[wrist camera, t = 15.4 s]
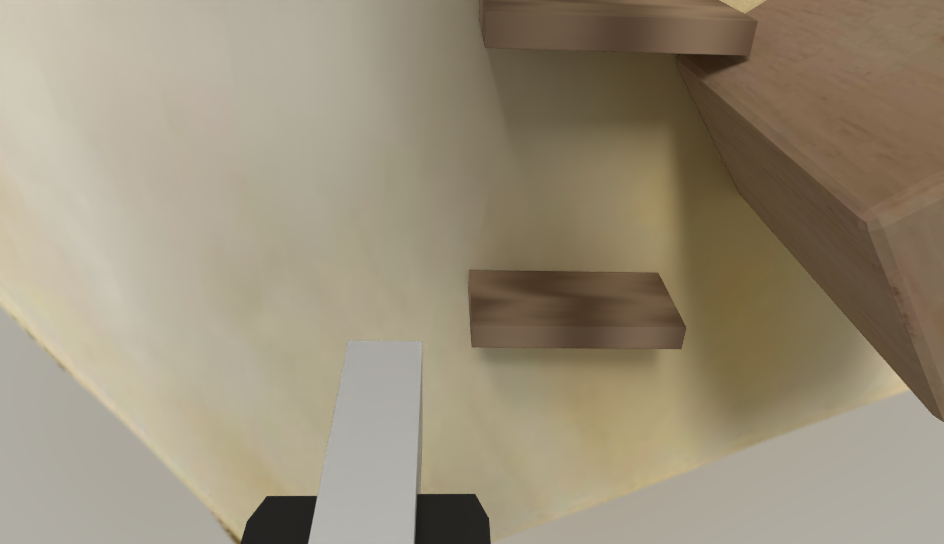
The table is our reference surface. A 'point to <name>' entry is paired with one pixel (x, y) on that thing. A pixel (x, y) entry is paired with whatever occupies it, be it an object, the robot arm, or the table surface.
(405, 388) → the robot arm
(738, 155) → the wooden block
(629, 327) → the parallel wooden walls
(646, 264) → the table surface
